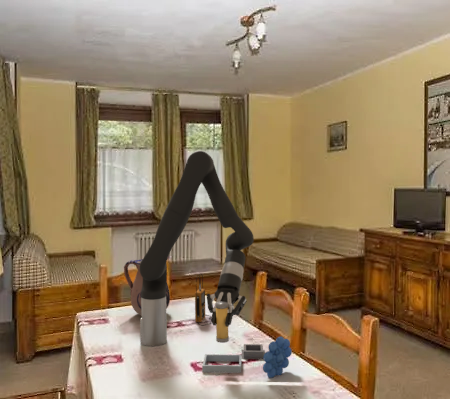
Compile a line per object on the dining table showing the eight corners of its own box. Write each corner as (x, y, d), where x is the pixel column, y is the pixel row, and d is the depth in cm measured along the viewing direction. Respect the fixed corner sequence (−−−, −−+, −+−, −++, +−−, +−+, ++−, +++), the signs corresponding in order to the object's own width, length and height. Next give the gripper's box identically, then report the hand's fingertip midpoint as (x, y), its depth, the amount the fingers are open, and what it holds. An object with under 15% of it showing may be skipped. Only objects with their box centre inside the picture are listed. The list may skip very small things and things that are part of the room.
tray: (202, 374, 132) (202, 365, 132) (205, 362, 141) (205, 354, 141) (241, 375, 131) (240, 366, 131) (241, 363, 140) (241, 354, 140)
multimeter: (215, 326, 177) (215, 279, 176) (192, 325, 179) (192, 278, 178) (223, 316, 191) (222, 271, 190) (201, 314, 193) (201, 271, 192)
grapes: (280, 366, 137) (280, 329, 137) (296, 373, 132) (296, 335, 132) (254, 376, 130) (253, 338, 130) (269, 384, 125) (269, 344, 124)
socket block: (241, 361, 142) (241, 352, 142) (241, 351, 150) (241, 343, 150) (265, 361, 141) (265, 352, 141) (264, 352, 149) (264, 343, 149)
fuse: (215, 342, 134) (215, 304, 133) (216, 338, 138) (216, 301, 137) (228, 342, 134) (227, 304, 133) (229, 338, 138) (228, 301, 137)
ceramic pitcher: (167, 320, 186) (166, 263, 185) (119, 320, 186) (117, 263, 185) (172, 308, 203) (171, 256, 202) (128, 309, 203) (127, 257, 203)
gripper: (208, 271, 144) (195, 317, 133) (248, 273, 140) (239, 321, 129) (214, 283, 150) (202, 328, 138) (253, 285, 145) (244, 332, 134)
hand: (220, 324), depth 134 cm, fingers closed on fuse, 3 cm apart
